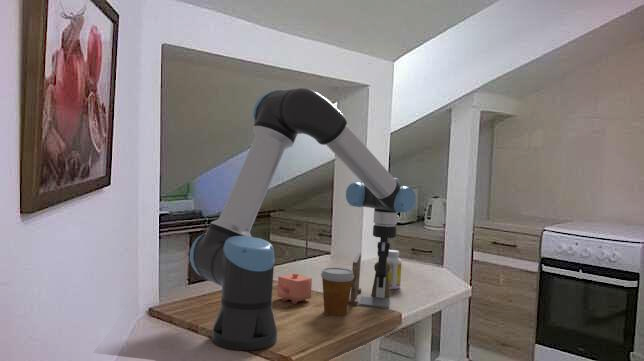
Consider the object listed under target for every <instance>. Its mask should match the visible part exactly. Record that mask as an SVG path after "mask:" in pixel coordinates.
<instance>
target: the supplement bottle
mask: <svg viewBox="0 0 644 361" xmlns="http://www.w3.org/2000/svg"><path fill="white" fill-rule="evenodd" d="M399 256H400V250H397V249H396V250H395V249H389V254H388V257H387V263H389V264H390V271H389V273H388V276H389V290H398V289H400V288H401V278H402V263H403V262H402V259H401V258H399Z"/></svg>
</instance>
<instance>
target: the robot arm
mask: <svg viewBox="0 0 644 361" xmlns="http://www.w3.org/2000/svg"><path fill="white" fill-rule="evenodd" d="M252 116H253V117H254V118H253V119H254V120H253V122H254V124H253V127H252V131H253V133H254V138H253V141H252V143H251V146H250V148H249V150H248V151H247V154H246V157H245V160H244V162H243V164H242V165H241V167H240V170H239V173H238V175H237V177H236V179H235V182H234V185H233V186H232V189H230V190H231V191H230V193H229V196H228V198H227V199H226V202H225V204H224V206H223V208H222V210H221V213H220V215H219V217H218V218H217V219H216V220H212V221H211V222H210V223H209V225H208V228H207V230H206V232H205V233H203V234H201V235H199V236H198V237H196V238H195V240H194V241H193V242H192V244H191V247H190V251H189V261H190V263H191V264H190V265H191V267H192V269H193V270H194V272H195V273H196V274H198V275H199V277H201V278H202V279H203V280H205V281H209V282H212V283H214V284H216V285H219V286H220V287H221V302H220V303H221V305H220V309H219V311H218V313H217V315H216V318H215V321H214V324H213V327H212V329H211V330H212V331H211V342H213V344H215V345H217V346H218V347H220V348H224V349H228V350H235V351H254V350H257V351H258V350H262V349H266V348H270V347H271V346H273V345H275V344H276V342H277V341H278V328H277V324H276V320H275V317H274V312H273V309H272V300H273V299H272V298H273V285H274V283H273V281H274V269H275V268H274V267H275V249H274V248H275V247H274V246H273V244H272V243H270V242H269V241H268V240H265V239H263V238H260V237H254V236H252V234H251V230H252V227H253V224H254V223H255V220H256V219H257V215H258V213H259V211H260V209H261V206H262V204H263V201H264V199H265V197H266V195H267V192H268V190H269V187H270V185H271V183H272V180H273V178H274V176H275V173H276V170H277V169H278V167H279V164H280V162H281V160H282V157H283V154H284V153H285V150H287V149H289V148H291V147H293V145H294V142H296V141H295V140H296V138H297V136H298V134H299V135H301V134H304V135H306V136H309V137H311V138H312V139H314V140H315V141H316V142H317V143H318V144H320V145H322V146H327V148H328V149H329V150H330V151H331V152H332V153H333V154H334V155H335V156H336V157H337V158H338V159H339V160H340V161H341V162H342V163H343V164H344V165H345V166H346V167H347V169H348V170H349V171H350V172H351V173H352V174H354V176H355V177H356V178H357V179H358V180H359V182H358V181H357V182H351V183H350V184H348V186H347V188H346V191H345V199H346V202H347V203H348V204H349V205H350V206H351V207H355V208H369V209H370V208H371V209H374V212H373V224H374V225H373V226H372V227H373V228H372V236H373V237H375V238H380V239H379V240H380V241H377V256H378V261H377V262H378V273H377V274H374V278H375V277H377V286H376V297H375V298H377V297H379V298H384V297H385V281H386V263H387V257H388V254H389V250H391V249H390V248H391V242H389V239H395V238H396V237H397V226H396V225H397V224H398V219H400V216H399V215H398V213H404V214H405V213H406V214H407V213H409V212H411V211H412V210H413V209H414V207H415V205H416V202H417V196H416V192H415V190H414V189H413V188H411V187H408V186H406V185H401V184H400V180H399V179H398V178H397V177H393V175H392V174H391V173H390V172H389V171H388V169H387V168H385V166H384V165H383V164H382V163H381V161H380V160H378V158H377V157H376V156H375V155H374V154H373V153H372V151H371V150H369V148H368V147H367V146H366V145H365V144H364V143H363V141H362V140H361V139H360V138H359V137H358V136H357V135H356V134H355V132H354V131H353V130H352V129H351V128H350V127H349V126H348V120H347V117H346V116H345V115H344V114H343V112H341V110H339V109H338V108H337V106H336V105H334V104H333V103H332V102H331V101H330V100H329V99H327V98H326V97H325V96H323V95H322V94H320V93H318V92H317V91H315V90H313V89H310V88H304V87H301V88H299V87H298V88H292V89H286V90H283V89H278V90H273V91H269V92H266V93H264V94H263V95H262V96H260V98H258V100H257V101H256V103H255V105H254V108H253V112H252ZM382 272H384V273H382Z"/></svg>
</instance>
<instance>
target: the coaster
mask: <svg viewBox="0 0 644 361" xmlns="http://www.w3.org/2000/svg"><path fill="white" fill-rule="evenodd" d="M358 306H359V307H369V308H378V309H390V298H377V297H373V296H365V295H362V296H360V298H359V301H358Z"/></svg>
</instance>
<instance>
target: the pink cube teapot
mask: <svg viewBox="0 0 644 361" xmlns="http://www.w3.org/2000/svg"><path fill="white" fill-rule="evenodd" d="M312 282H313V277H307V276H304V275H299V273H297V272H293V273H289V274H285V275H279V276H278V278H277V294H276V295H277V296H276V297H279V298H282V299H281V300H282V301H284V302H285V301H286V302H287V301H288V300H289V301H291V304H295V305H296V304H298V302H306V300H308V299H312V286H313V285H312V284H313V283H312Z"/></svg>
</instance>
